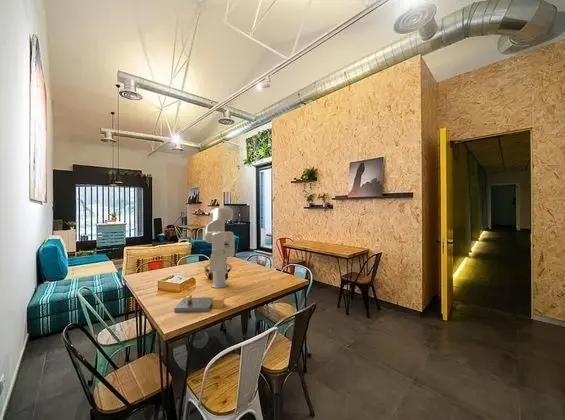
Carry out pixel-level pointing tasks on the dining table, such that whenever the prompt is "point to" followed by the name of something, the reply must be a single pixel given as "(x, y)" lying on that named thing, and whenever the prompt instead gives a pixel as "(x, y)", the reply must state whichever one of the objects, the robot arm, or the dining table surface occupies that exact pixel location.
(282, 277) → the dining table surface
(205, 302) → the plate
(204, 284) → the dining table surface
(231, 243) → the robot arm
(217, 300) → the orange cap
